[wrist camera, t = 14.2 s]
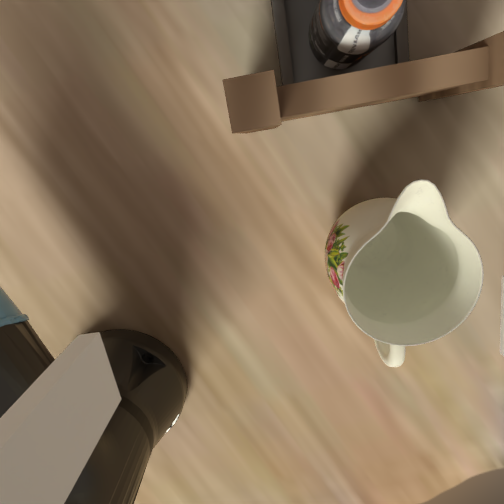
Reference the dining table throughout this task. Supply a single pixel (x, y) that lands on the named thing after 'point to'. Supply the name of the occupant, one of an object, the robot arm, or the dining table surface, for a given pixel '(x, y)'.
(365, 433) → the dining table surface
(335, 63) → the pill bottle
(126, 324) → the dining table surface
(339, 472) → the dining table surface
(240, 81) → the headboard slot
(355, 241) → the pitcher
